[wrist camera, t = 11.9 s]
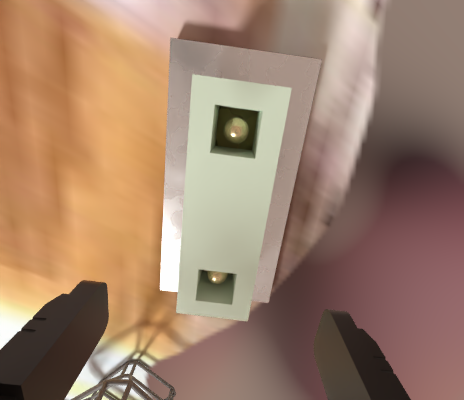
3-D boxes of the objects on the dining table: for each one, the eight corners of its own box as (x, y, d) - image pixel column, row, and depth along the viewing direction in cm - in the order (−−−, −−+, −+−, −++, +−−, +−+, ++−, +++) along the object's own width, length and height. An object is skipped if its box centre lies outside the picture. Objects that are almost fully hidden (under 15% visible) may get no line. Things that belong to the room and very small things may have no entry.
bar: (201, 82, 19) (192, 74, 15) (280, 93, 19) (291, 87, 15) (185, 282, 24) (176, 312, 21) (246, 289, 25) (247, 321, 21)
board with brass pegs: (175, 42, 21) (149, 13, 15) (316, 63, 21) (348, 42, 15) (163, 281, 29) (143, 326, 23) (266, 293, 29) (274, 342, 23)
